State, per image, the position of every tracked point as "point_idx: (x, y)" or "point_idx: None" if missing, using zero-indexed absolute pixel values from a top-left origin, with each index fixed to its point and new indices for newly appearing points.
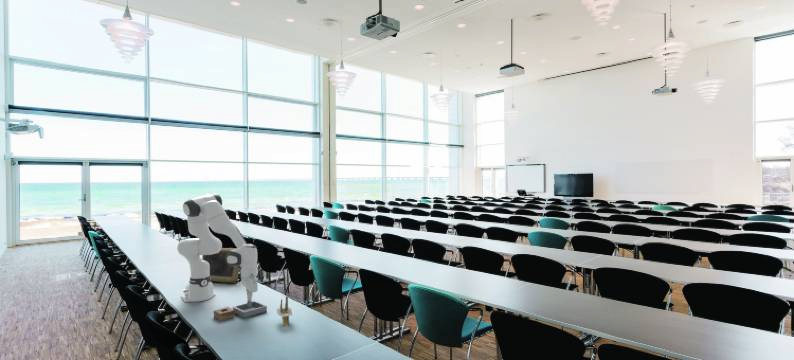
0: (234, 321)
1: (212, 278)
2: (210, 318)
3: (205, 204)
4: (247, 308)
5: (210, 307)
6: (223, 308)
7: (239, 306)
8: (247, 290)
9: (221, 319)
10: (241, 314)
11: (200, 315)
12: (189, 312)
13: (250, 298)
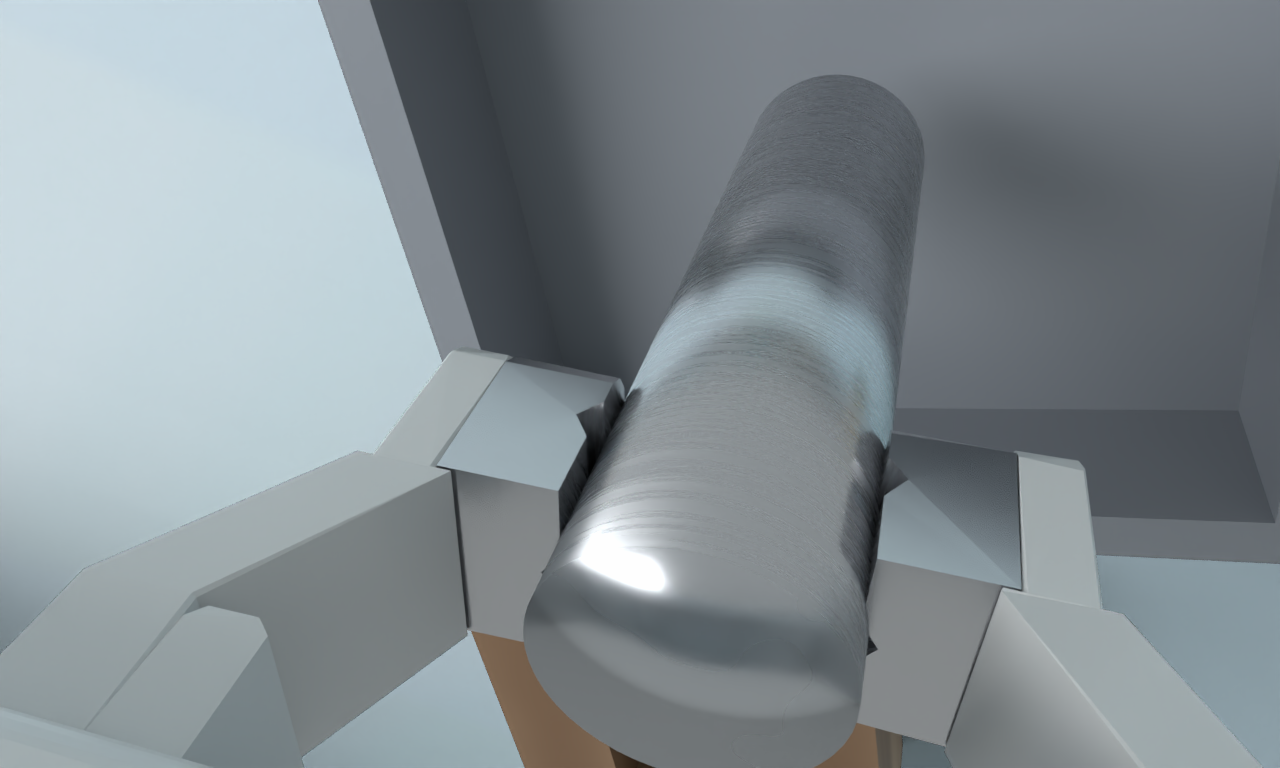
0: (1191, 624)
1: None
2: None
3: None
4: (522, 43)
5: (2, 522)
6: (538, 716)
7: (496, 346)
8: (351, 671)
9: (900, 759)
10: None
11: (356, 750)
12: None
13: (891, 388)
